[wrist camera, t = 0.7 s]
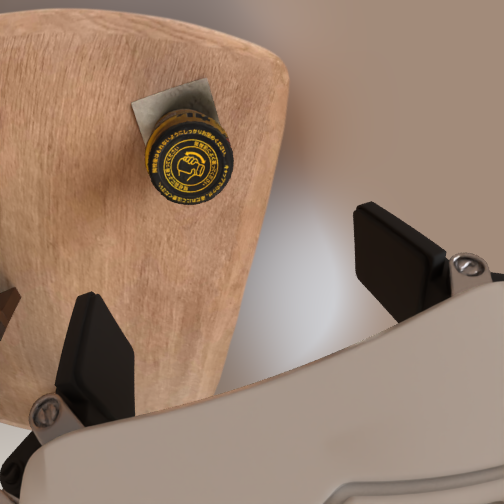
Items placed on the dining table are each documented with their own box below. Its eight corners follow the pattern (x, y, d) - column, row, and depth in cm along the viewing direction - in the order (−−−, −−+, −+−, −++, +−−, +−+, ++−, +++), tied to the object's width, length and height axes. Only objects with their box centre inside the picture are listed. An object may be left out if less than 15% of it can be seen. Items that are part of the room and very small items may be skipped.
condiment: (159, 183, 30) (156, 234, 19) (131, 102, 25) (108, 106, 15) (229, 158, 30) (266, 195, 20) (206, 77, 26) (231, 65, 16)
